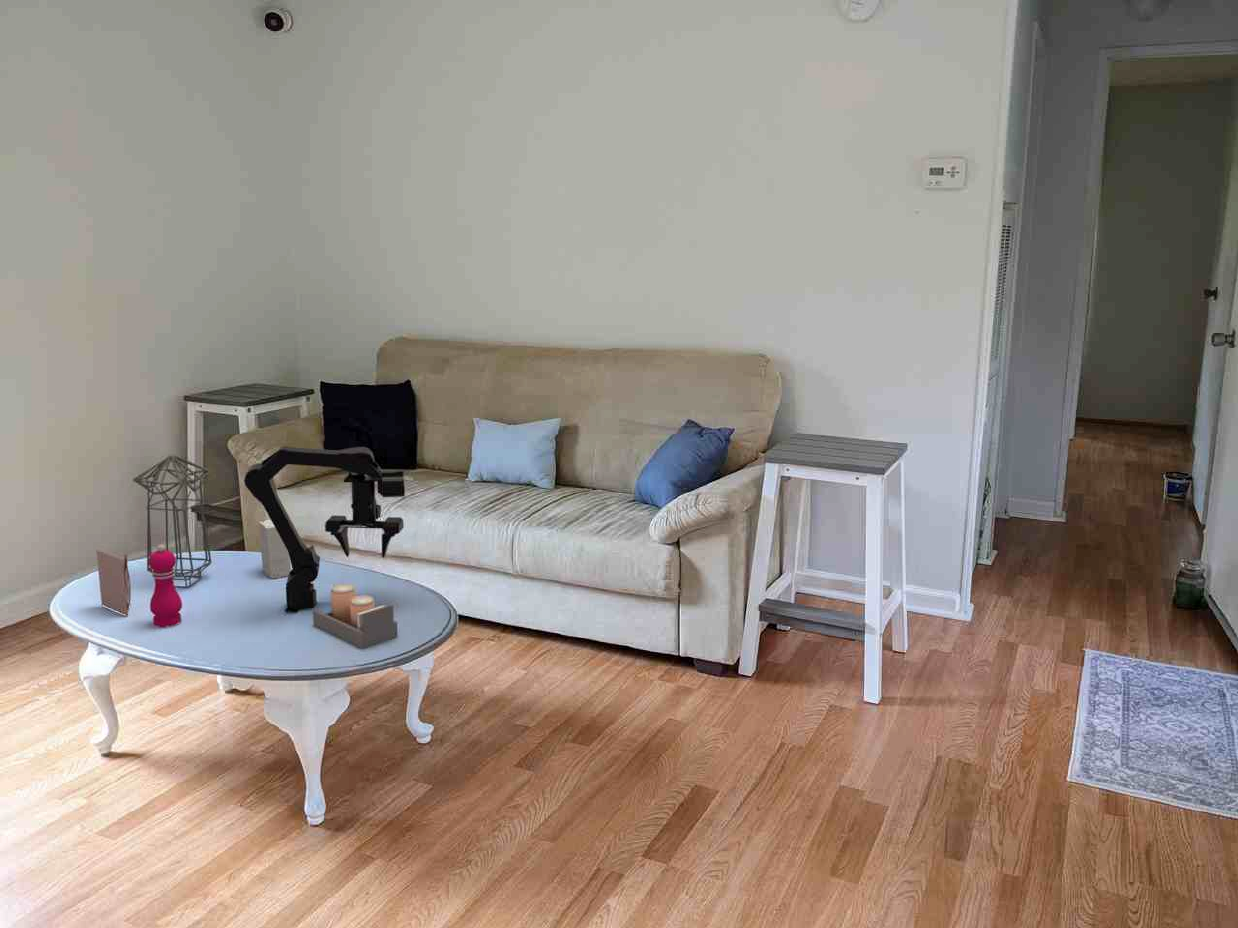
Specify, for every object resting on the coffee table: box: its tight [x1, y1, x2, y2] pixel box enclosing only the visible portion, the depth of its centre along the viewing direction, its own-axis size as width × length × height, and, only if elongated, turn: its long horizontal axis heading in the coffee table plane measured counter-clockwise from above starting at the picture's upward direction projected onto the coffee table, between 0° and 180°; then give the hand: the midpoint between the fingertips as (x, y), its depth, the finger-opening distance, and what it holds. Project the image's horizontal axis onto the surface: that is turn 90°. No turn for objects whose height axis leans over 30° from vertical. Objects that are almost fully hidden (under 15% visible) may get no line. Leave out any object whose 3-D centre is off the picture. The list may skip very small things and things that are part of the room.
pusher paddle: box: [357, 605, 385, 631], centre depth 249 cm, size 2×7×7 cm, turn 139°
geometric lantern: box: [132, 454, 214, 589], centre depth 283 cm, size 16×16×35 cm
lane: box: [312, 604, 398, 650], centre depth 254 cm, size 20×10×9 cm, turn 49°
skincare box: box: [258, 519, 292, 580], centre depth 293 cm, size 8×6×15 cm
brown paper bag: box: [95, 545, 132, 617], centre depth 265 cm, size 11×7×15 cm, turn 21°
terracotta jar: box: [330, 582, 356, 626], centre depth 257 cm, size 6×6×10 cm
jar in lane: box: [350, 595, 376, 629], centre depth 252 cm, size 6×6×9 cm
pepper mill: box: [149, 544, 183, 628], centre depth 257 cm, size 7×7×20 cm
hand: (365, 556), depth 271 cm, fingers open, 9 cm apart
